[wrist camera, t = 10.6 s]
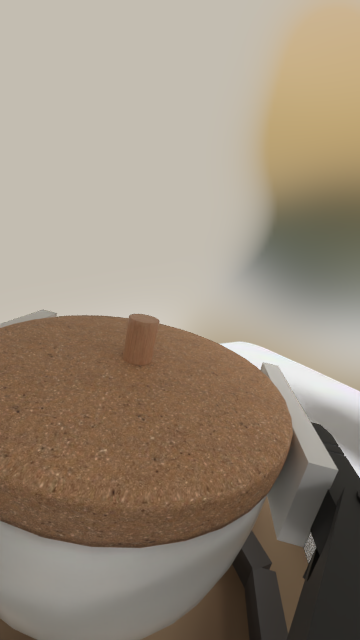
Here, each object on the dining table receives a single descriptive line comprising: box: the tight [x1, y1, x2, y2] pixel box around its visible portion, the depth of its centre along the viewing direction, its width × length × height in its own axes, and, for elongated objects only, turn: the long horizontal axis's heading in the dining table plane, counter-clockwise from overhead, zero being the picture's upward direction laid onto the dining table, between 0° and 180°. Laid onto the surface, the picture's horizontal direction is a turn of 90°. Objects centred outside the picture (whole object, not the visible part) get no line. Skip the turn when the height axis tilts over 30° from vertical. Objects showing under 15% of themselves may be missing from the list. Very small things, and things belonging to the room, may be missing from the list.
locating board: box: [0, 496, 309, 640], centre depth 12 cm, size 22×22×2 cm
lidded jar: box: [0, 314, 293, 640], centre depth 10 cm, size 11×11×9 cm
